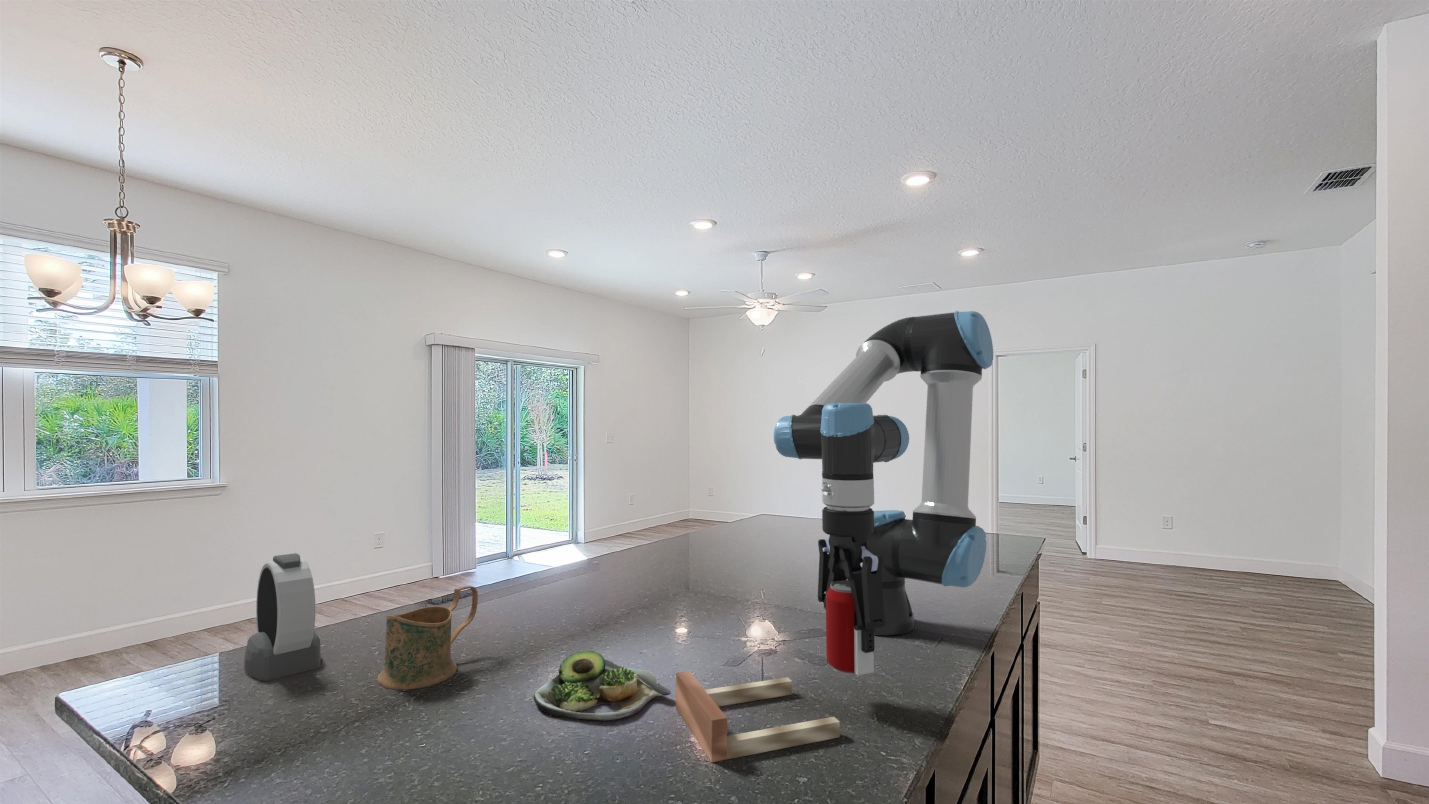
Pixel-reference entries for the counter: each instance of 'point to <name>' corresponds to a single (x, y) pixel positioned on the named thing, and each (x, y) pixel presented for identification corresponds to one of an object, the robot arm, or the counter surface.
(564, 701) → the avocado toast plate
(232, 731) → the counter surface
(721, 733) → the guide channel
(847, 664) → the beverage can
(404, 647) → the mug
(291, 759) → the counter surface
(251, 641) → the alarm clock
